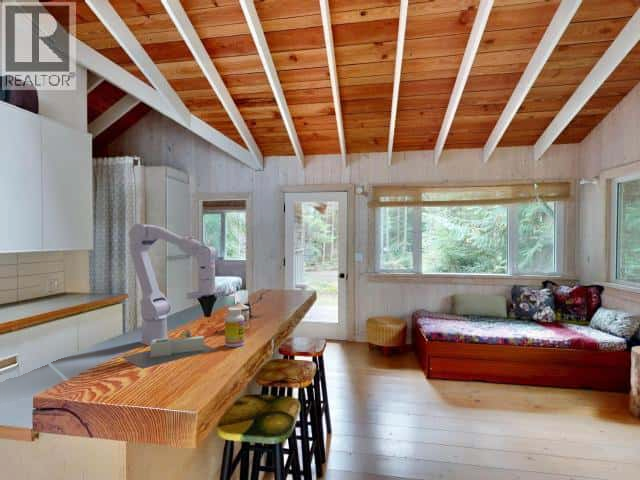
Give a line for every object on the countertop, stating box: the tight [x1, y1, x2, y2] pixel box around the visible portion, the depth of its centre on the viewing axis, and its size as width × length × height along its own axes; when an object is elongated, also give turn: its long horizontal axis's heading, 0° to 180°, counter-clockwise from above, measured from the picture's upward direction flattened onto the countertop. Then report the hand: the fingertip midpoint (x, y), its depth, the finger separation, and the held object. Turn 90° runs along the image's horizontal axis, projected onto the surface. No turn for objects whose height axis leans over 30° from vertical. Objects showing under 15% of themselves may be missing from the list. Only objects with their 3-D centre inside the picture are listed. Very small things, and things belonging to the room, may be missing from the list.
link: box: [150, 335, 205, 357], centre depth 117 cm, size 16×6×4 cm, turn 109°
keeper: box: [179, 329, 192, 338], centre depth 120 cm, size 2×6×6 cm, turn 2°
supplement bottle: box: [224, 307, 245, 348], centre depth 126 cm, size 7×7×13 cm
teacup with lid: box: [227, 300, 250, 331], centre depth 151 cm, size 12×9×12 cm
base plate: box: [121, 344, 218, 369], centre depth 115 cm, size 17×24×1 cm
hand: (207, 316), depth 127 cm, fingers closed
